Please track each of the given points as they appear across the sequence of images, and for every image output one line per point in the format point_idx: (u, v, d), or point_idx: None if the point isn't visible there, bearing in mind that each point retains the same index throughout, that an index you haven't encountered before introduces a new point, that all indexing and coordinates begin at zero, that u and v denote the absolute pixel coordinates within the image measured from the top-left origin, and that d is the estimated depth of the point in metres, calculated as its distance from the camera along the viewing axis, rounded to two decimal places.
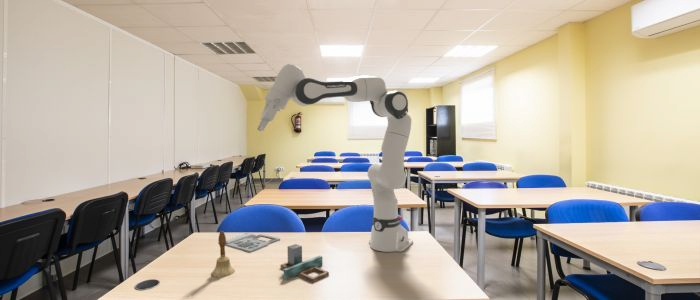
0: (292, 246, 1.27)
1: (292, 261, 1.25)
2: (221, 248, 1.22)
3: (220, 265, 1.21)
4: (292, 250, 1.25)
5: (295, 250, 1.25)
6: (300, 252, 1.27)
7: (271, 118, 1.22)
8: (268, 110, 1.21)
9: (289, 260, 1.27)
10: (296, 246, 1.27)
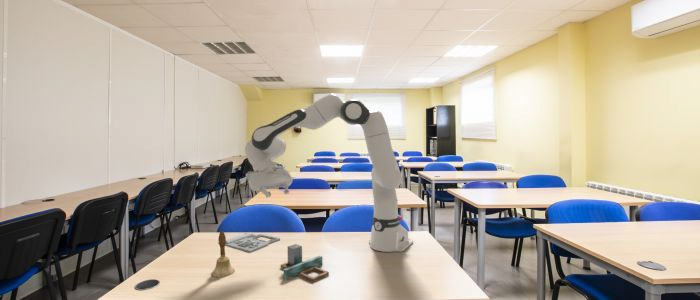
0: (292, 246, 1.27)
1: (292, 261, 1.25)
2: (221, 248, 1.22)
3: (220, 265, 1.21)
4: (292, 250, 1.25)
5: (295, 250, 1.25)
6: (300, 252, 1.27)
7: (253, 185, 1.33)
8: (249, 185, 1.35)
9: (289, 260, 1.27)
10: (296, 246, 1.27)
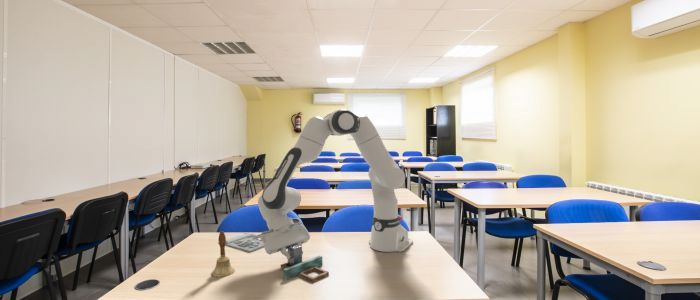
0: (292, 246, 1.27)
1: (292, 261, 1.25)
2: (221, 248, 1.22)
3: (220, 265, 1.21)
4: (292, 250, 1.25)
5: (295, 250, 1.25)
6: (300, 252, 1.27)
7: (269, 249, 1.22)
8: (265, 248, 1.24)
9: (289, 260, 1.27)
10: (296, 246, 1.27)
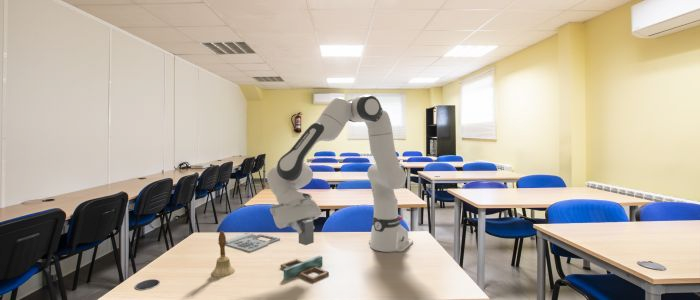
0: (303, 220, 1.23)
1: (303, 236, 1.21)
2: (221, 248, 1.22)
3: (220, 265, 1.21)
4: (303, 224, 1.20)
5: (306, 224, 1.20)
6: (311, 226, 1.22)
7: (280, 223, 1.17)
8: (275, 222, 1.19)
9: (300, 235, 1.22)
10: (307, 220, 1.23)
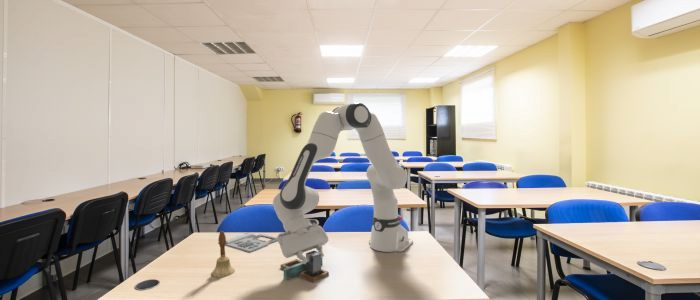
0: (311, 253, 1.20)
1: (311, 269, 1.18)
2: (221, 248, 1.22)
3: (220, 265, 1.21)
4: (311, 257, 1.18)
5: (314, 257, 1.18)
6: (319, 259, 1.20)
7: (287, 252, 1.14)
8: (282, 251, 1.16)
9: (308, 268, 1.19)
10: (315, 253, 1.20)
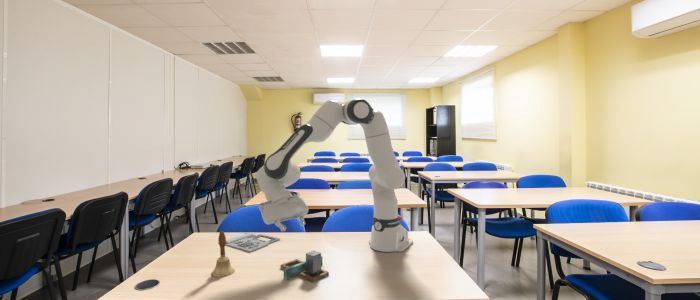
0: (311, 253, 1.20)
1: (311, 269, 1.18)
2: (221, 248, 1.22)
3: (220, 265, 1.21)
4: (311, 257, 1.18)
5: (314, 257, 1.18)
6: (319, 259, 1.20)
7: (268, 219, 1.22)
8: (263, 218, 1.24)
9: (308, 268, 1.19)
10: (315, 253, 1.20)
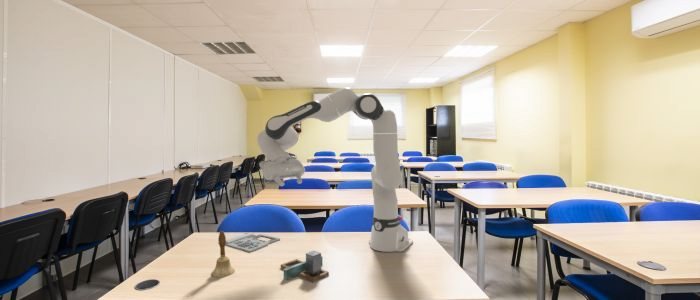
0: (311, 253, 1.20)
1: (311, 269, 1.18)
2: (221, 248, 1.22)
3: (220, 265, 1.21)
4: (311, 257, 1.18)
5: (314, 257, 1.18)
6: (319, 259, 1.20)
7: (267, 174, 1.33)
8: (263, 174, 1.35)
9: (308, 268, 1.19)
10: (315, 253, 1.20)
